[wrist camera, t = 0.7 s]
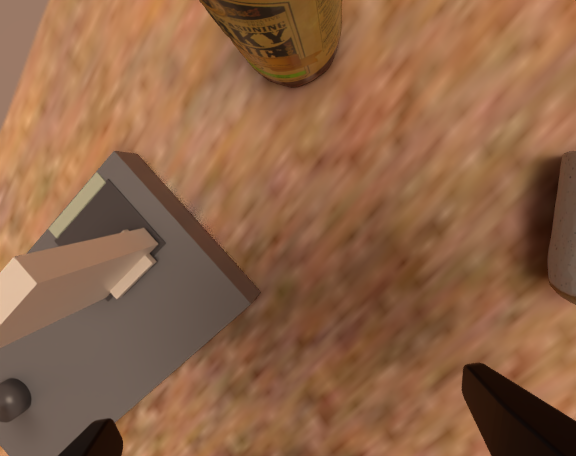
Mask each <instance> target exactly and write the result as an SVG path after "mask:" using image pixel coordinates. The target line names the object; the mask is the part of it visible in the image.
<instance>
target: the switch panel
mask: <svg viewBox="0 0 576 456" xmlns="http://www.w3.org/2000/svg"><path fill="white" fill-rule="evenodd" d="M141 228H145V229H146V231H147V232H148V233H149V234H150V235H151V236H152V237H153V238H154V240H155V241H156V242H157V243H158V245H157V246H156V247H155V248H154V249H153V250H152V251H151V252H150V253H149V254H150V255H151V256H152V257H153V258H154V259H155V260H156V261H157V262H156V263H155V264H154V265H153V266H152V267H151V268H150V269H149V270H148V271H147V272H146V273H145V274H144V275H143V276H142V277H141V278H140V279H139V280H138V281H137V282H136V283H135V284H134V285H133V286H132V287H131V288H130V289H129V290H128V291H127V292H126V293H125V294H124V295H123V296H122V297H120V298H118V299H116V298H115V297H114V296H113V295H112V294H111V293H110V294H109V295H108V296H107V297H106V298H104V299H102V300H100V301H98V302H96V303H94V304H92V305H90V306H87V307H85V308H83V309H81V310H79V311H77V312H75V313H73V314H71V315H69V316H66V317H64V318H62V319H60V320H58V321H56V322H54V323H52V324H50V325H48V326H45V327H43V328H41V329H39V330H37V331H35V332H33V333H31V334H29V335H27V336H24V337H22V338H20V339H18V340H16V341H14V342H12V343H10V344H8V345H6V346H3V347H1V348H0V446H1V447H2V448H3V449H4V450H5V451H6V453H7V454H8V455H9V456H58V455H59V454H60V453H61V452H62V451H63V450H64V449H65V448H66V447H67V446H68V445H69V444H70V443H71V442H72V441H73V440H74V439H75V438H76V437H77V436H78V435H79V434H80V433H81V432H82V431H84V430H85V429H86V428H87V427H88V426H89V425H90V424H91V423H92V422H93V421H95V420H99V419H106V418H111V419H112V420H113V421H114V422H116V421H117V420H118V419H120V418H121V417H122V416H123V415H124V414H125V413H126V412H128V411H129V410H130V409H131V408H132V407H133V406H135V405H136V404H137V403H138V402H139V401H140V400H141V399H143V398H144V397H145V396H146V395H147V394H148V393H149V392H151V391H152V390H153V389H154V388H155V387H156V386H158V385H159V384H160V383H161V382H162V381H163V380H164V379H166V378H167V377H168V376H169V375H170V374H171V373H172V372H174V371H175V370H176V369H177V368H178V367H179V366H181V365H182V364H183V363H184V362H185V361H186V360H187V359H189V358H190V357H191V356H192V355H193V354H194V353H195V352H197V351H198V350H199V349H200V348H201V347H202V346H204V345H205V344H206V343H207V342H208V341H209V340H210V339H212V338H213V337H214V336H215V335H216V334H217V333H218V332H220V331H221V330H222V329H223V328H224V327H225V326H227V325H228V324H229V323H230V322H231V321H232V320H233V319H235V318H236V317H237V316H238V315H239V314H240V313H241V312H243V311H244V310H245V309H246V308H247V307H248V306H250V305H251V304H252V302H253V301H254V300H255V299H256V297H257V296H258V295H259V294H260V291H259V290H258V288H257V287H256V286H255V285H254V284H253V283H252V282H251V281H250V279H249V278H248V277H247V276H246V275H245V274H244V273H243V272H242V271H241V269H240V268H239V267H238V266H237V265H236V264H235V263H234V262H233V261H232V259H231V258H230V257H229V256H228V255H227V254H226V253H225V252H224V250H223V249H222V248H221V247H220V246H219V245H218V244H217V243H216V242H215V240H214V239H213V238H212V237H211V236H210V235H209V234H208V233H207V231H206V230H205V229H204V228H203V227H202V226H201V225H200V224H199V223H198V221H197V220H196V219H195V218H194V217H193V216H192V215H191V214H190V213H189V211H188V210H187V209H186V208H185V207H184V206H183V205H182V204H181V202H180V201H179V200H178V199H177V198H176V197H175V196H174V195H173V194H172V192H171V191H170V190H169V189H168V188H167V187H166V186H165V185H164V183H163V182H162V181H161V180H160V179H159V178H158V177H157V176H156V175H155V173H154V172H153V171H152V170H151V169H150V168H149V167H148V166H147V164H146V163H145V162H144V161H143V160H142V159H141V158H140V157H139V156H138V154H134V153H127V152H119V151H114V152H113V153H112V154H111V155H110V156H109V157H108V159H107V160H106V161H105V162H104V163H103V164H102V166H101V167H100V168H99V169H98V170H97V171H96V173H95V174H94V175H93V176H92V177H91V179H90V180H89V181H88V182H87V183H86V184H85V186H84V187H83V188H82V189H81V190H80V191H79V193H78V194H77V195H76V196H75V197H74V199H73V200H72V201H71V202H70V203H69V204H68V206H67V207H66V208H65V209H64V210H63V211H62V213H61V214H60V215H59V216H58V217H57V218H56V220H55V221H54V222H53V223H52V224H51V226H50V227H49V228H48V229H47V230H46V231H45V233H44V234H43V235H42V236H41V237H40V238H39V240H38V241H37V242H36V243H35V244H34V246H33V247H32V248H31V249H30V250H29V251H28V253H33V252H37V251H42V250H46V249H51V248H55V247H60V246H64V245H69V244H73V243H78V242H82V241H87V240H91V239H96V238H100V237H105V236H109V235H114V234H118V233H121V232H122V231H123V230H127V229H128V230H129V231H132V230H136V229H141ZM28 253H27V254H28Z"/></svg>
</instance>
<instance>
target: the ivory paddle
mask: <svg viewBox="0 0 576 456" xmlns="http://www.w3.org/2000/svg"><path fill="white" fill-rule="evenodd" d="M157 245H158V243H157V242H156V241H155V240H154V238H153V237H152V236H151V235H150V234H149V233H148V232H147V231H146V229H145V228H141V229H136V230H132V231H129V230H128V229H127V230H123V231H122V232H121V233H118V234H114V235H109V236H105V237H100V238H96V239H91V240H87V241H82V242H78V243H73V244H69V245H64V246H60V247H55V248H51V249H46V250H42V251H37V252H33V253H28V254H24V255H19V256H15V257H13V258H12V259H11V261H10V262H9V263H8V264H7V265H6V267H5V268H4V269H3V270H2V271H1V272H0V348H1V347H3V346H6V345H8V344H10V343H12V342H14V341H16V340H18V339H20V338H22V337H24V336H27V335H29V334H31V333H33V332H35V331H37V330H39V329H41V328H43V327H45V326H48V325H50V324H52V323H54V322H56V321H58V320H60V319H62V318H64V317H66V316H69V315H71V314H73V313H75V312H77V311H79V310H81V309H83V308H85V307H87V306H90V305H92V304H94V303H96V302H98V301H100V300H102V299H104V298H106V297H107V296H108V295H109V294H110V293H111V294H112V295H113V296H114V297H115V298H116V299H118V298H120V297H122V296H123V295H124V294H125V293H126V292H127V291H128V290H129V289H130V288H131V287H132V286H133V285H134V284H135V283H136V282H137V281H138V280H139V279H140V278H141V277H142V276H143V275H144V274H145V273H146V272H147V271H148V270H149V269H150V268H151V267H152V266H153V265H154V264H155V263H156V262H157V261H156V260H155V259H154V258H153V257H152V256H151V255H150V254H149V253H150V252H151V251H152V250H153V249H154V248H155V247H156V246H157Z"/></svg>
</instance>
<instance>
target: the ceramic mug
mask: <svg viewBox="0 0 576 456" xmlns="http://www.w3.org/2000/svg"><path fill="white" fill-rule="evenodd" d="M548 277H549V283H550V285H551V287H552V288H553V289H554V290H555V291H556V292H557V293H558V294H559V295H560V296H561V297H563V298H564V299H566V300H568V301H569V302H571V303H573V304H576V151H573V152H567V153H565V154H564V155H563V156H562V160H561V168H560V175H559V183H558V191H557V198H556V203H555V211H554V219H553V227H552V234H551V240H550V245H549V250H548Z"/></svg>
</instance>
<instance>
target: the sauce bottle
mask: <svg viewBox="0 0 576 456" xmlns="http://www.w3.org/2000/svg"><path fill="white" fill-rule="evenodd" d="M199 1H200V2H201V3H202V4H203V5H204V7H205V8H206V10H207V11H208V13H209V14H210V15H211V17H212V18H213V19H214V20H215V22H216V23H217V24H218V25H219V26H220V28H221V29H222V31H223V32H224V33H225V34H226V35H227V36H228V37H229V38H230V39H231V41H232V42H233V43H234V45H235V46H236V47H237V49H238V50H239V51H240V52H241V53H242V55H243V56H244V57H245V58H246V60H247V61H248V62H249V63H250V65H251V66H252V67H253V68H254V69H255V70H256V71H258V72H259V73H260V74H262V75H263V76H264V77H265V78H266V79H268V80H270V81H272V82H275V83H278V84H282V85H286V86H291V87H297V86H301V85H303V84H306V83H308V82H310V81H312V80H314V79H316V78H317V77H318V76H319V75H321V74H322V73H324V72H325V71H326V70H327V69H328V68H329V66H330V65H331V63H332V61H333V59H334V56H335V53H336V51H337V47H338V43H339V38H340V34H341V24H342V0H199Z"/></svg>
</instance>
